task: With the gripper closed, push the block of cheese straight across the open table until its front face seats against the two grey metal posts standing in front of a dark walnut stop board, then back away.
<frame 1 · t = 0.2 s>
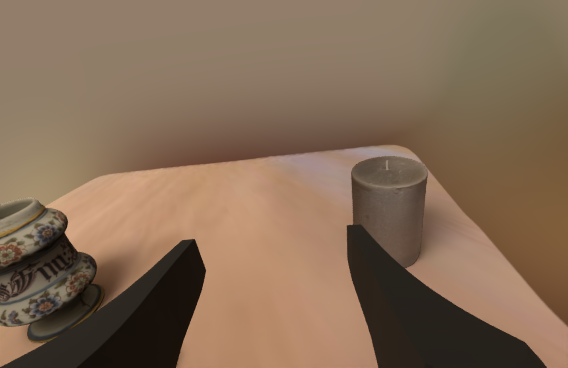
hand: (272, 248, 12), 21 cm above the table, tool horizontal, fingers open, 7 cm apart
apothecary jar: (69, 312, 40), on the table
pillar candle: (386, 249, 41), on the table
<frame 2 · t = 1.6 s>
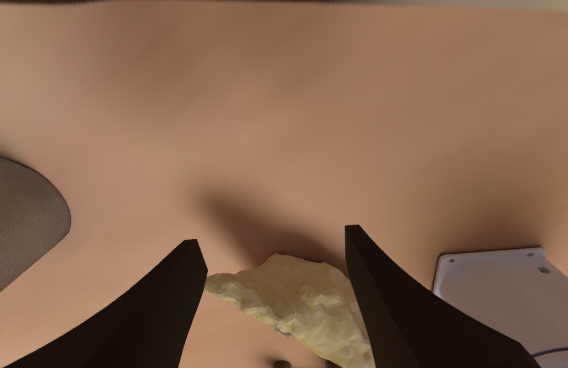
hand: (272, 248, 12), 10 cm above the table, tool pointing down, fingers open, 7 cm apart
cheese: (287, 270, 27), on the table
boss stop: (308, 364, 34), on the table
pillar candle: (18, 202, 24), on the table
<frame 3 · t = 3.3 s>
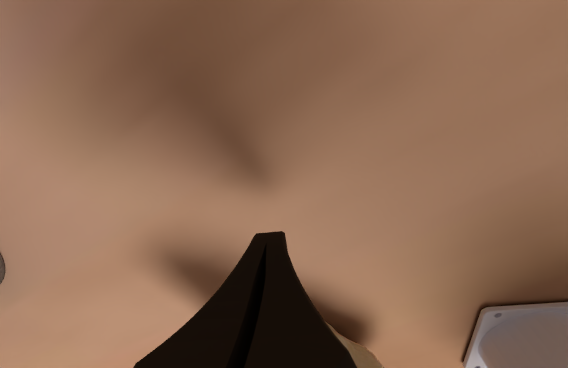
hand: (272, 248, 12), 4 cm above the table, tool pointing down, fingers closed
cheese: (279, 330, 22), on the table
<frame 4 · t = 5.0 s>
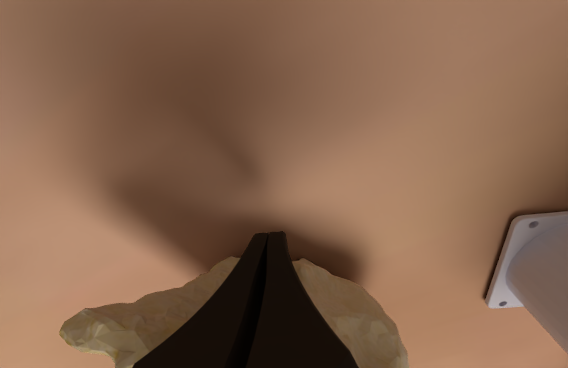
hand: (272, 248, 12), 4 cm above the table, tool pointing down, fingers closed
cheese: (257, 278, 19), on the table, touching gripper
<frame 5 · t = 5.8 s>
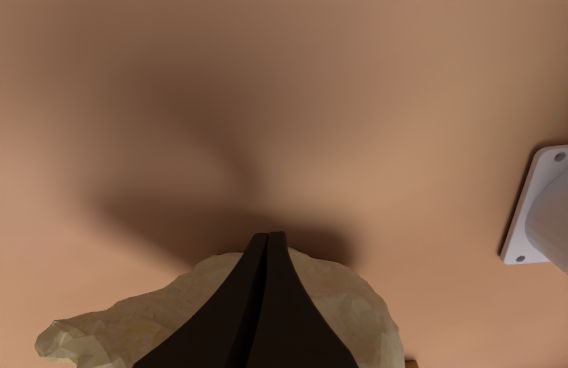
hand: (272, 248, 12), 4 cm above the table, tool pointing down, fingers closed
cheese: (247, 274, 19), on the table, touching gripper
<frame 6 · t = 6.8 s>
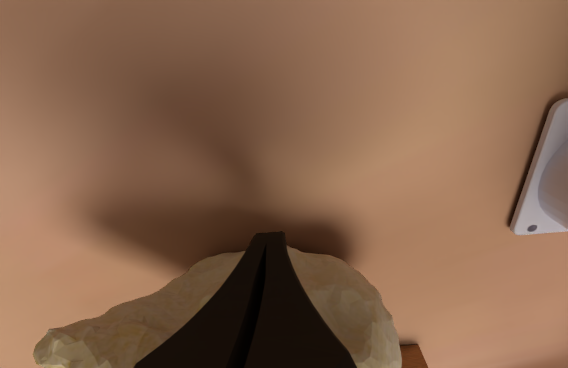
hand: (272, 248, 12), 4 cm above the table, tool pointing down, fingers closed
cheese: (245, 273, 19), on the table
boss stop: (298, 339, 22), on the table
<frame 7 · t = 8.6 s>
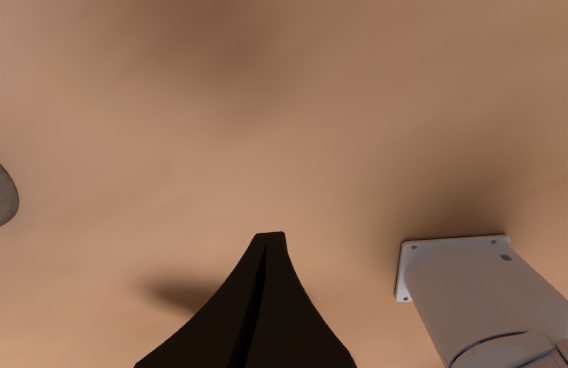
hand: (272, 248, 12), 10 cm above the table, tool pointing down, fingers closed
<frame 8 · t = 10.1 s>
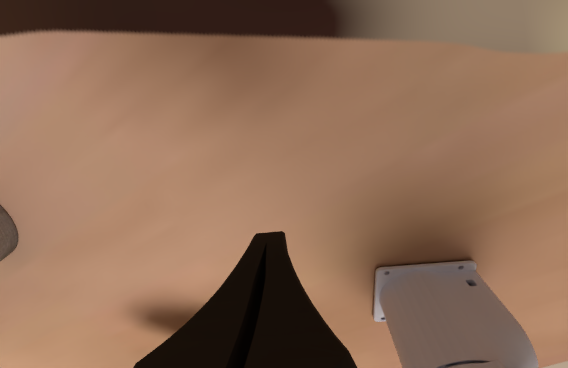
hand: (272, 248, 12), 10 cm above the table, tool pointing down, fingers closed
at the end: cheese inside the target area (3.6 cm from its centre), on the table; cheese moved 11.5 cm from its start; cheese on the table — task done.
